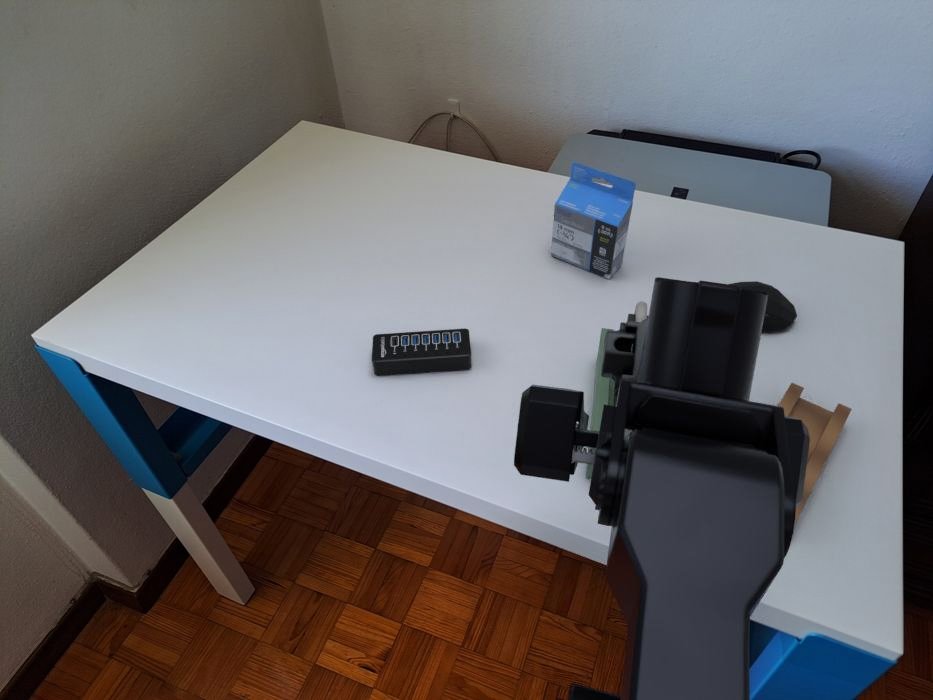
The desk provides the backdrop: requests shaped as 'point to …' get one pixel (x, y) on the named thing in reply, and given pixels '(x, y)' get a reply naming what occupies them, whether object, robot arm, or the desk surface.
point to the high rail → (600, 395)
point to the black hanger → (636, 317)
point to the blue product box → (592, 220)
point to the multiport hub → (421, 352)
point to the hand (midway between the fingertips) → (643, 430)
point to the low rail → (814, 433)
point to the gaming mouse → (773, 306)
